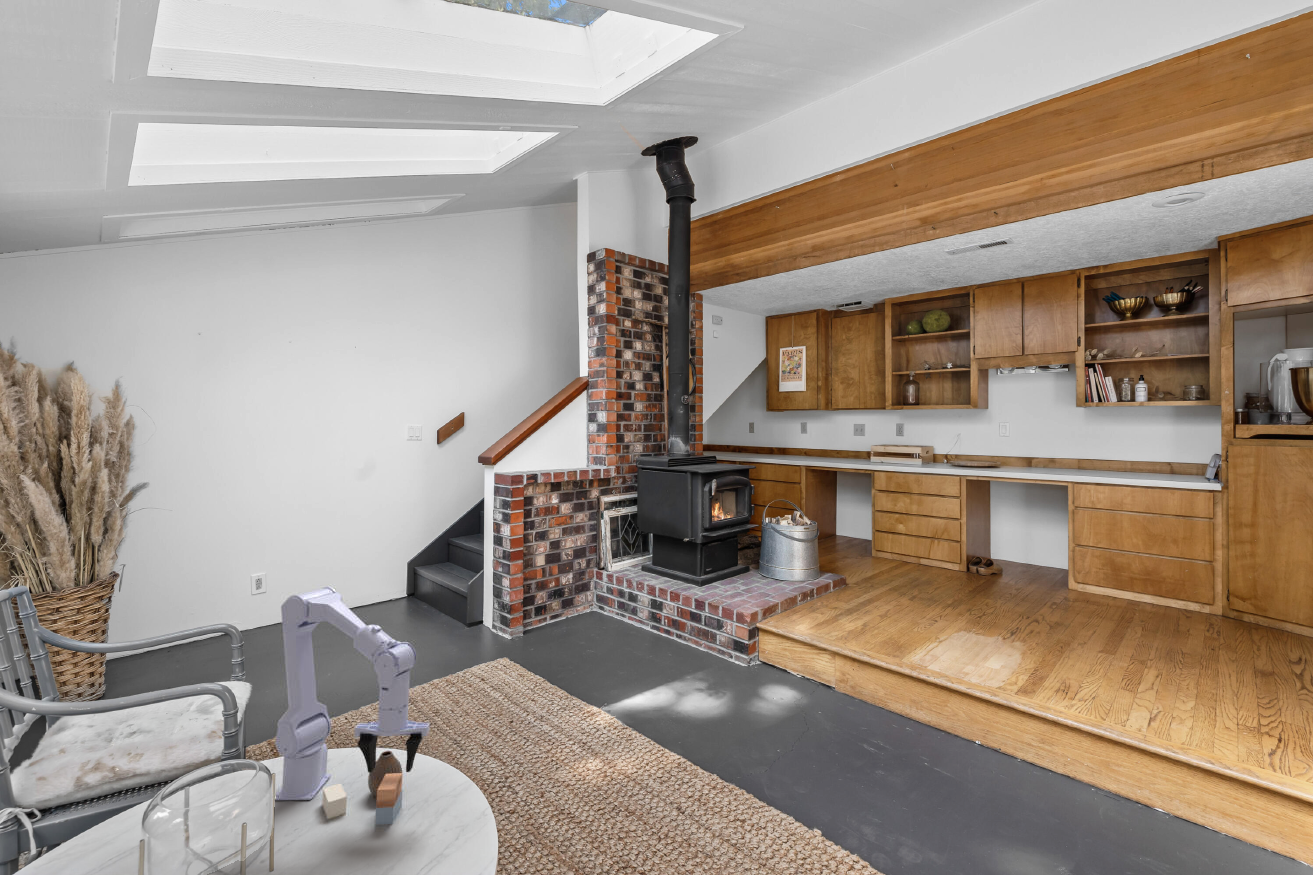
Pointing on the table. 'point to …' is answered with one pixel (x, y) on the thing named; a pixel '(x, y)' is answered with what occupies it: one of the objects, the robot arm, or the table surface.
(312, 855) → the table surface
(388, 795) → the terracotta brick
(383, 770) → the vase
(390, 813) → the slate brick
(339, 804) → the cream brick
